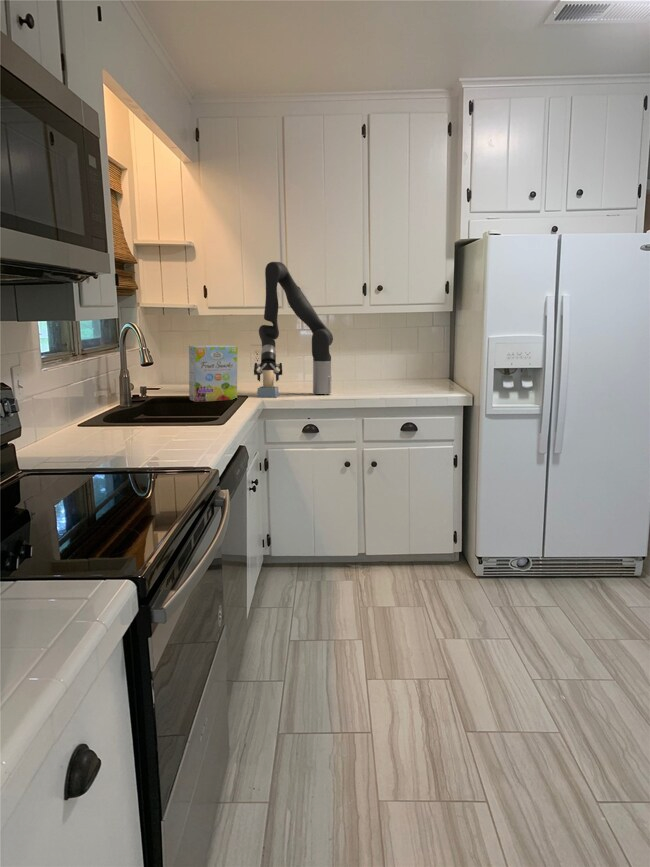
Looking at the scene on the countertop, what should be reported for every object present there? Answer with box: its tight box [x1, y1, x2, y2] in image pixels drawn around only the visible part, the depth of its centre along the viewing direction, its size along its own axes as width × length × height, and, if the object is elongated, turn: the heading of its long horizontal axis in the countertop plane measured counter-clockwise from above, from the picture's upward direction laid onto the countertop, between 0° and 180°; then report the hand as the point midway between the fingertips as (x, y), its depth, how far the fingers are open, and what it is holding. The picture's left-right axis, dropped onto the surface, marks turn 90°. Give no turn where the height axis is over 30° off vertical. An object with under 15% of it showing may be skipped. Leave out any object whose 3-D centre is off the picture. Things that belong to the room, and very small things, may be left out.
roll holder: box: [256, 385, 281, 399], centre depth 310 cm, size 10×9×4 cm
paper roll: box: [262, 370, 275, 388], centre depth 309 cm, size 5×5×12 cm
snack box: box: [188, 344, 238, 403], centre depth 292 cm, size 22×9×26 cm, turn 123°
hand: (268, 380), depth 307 cm, fingers open, 8 cm apart
